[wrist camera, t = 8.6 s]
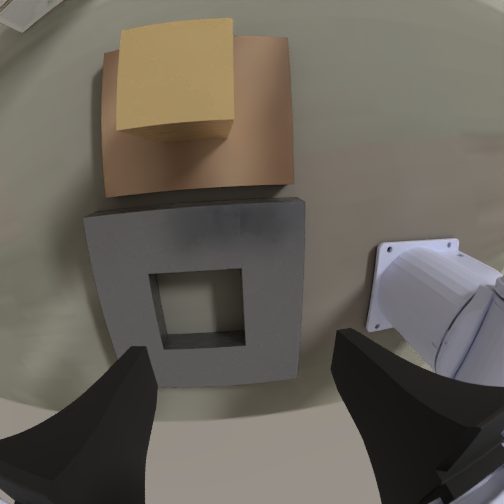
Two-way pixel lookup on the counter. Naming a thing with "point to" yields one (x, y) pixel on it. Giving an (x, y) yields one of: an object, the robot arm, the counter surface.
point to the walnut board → (210, 150)
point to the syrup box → (24, 12)
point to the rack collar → (200, 259)
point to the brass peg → (176, 81)
